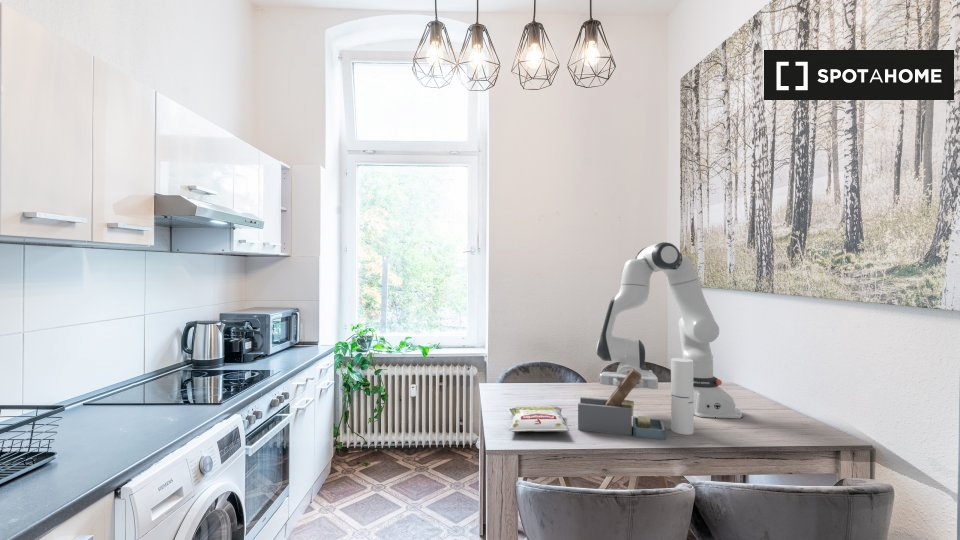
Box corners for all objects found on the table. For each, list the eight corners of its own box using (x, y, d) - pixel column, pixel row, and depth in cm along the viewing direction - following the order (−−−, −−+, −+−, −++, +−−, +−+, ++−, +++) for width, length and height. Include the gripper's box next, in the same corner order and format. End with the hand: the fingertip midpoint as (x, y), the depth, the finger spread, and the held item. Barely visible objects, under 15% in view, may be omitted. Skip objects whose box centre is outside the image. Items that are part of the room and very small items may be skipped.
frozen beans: (562, 400, 173) (570, 421, 148) (562, 415, 173) (571, 438, 148) (508, 401, 175) (508, 422, 150) (509, 416, 175) (509, 439, 150)
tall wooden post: (614, 408, 161) (641, 374, 158) (613, 412, 156) (641, 377, 154) (605, 402, 162) (632, 368, 159) (605, 406, 157) (632, 370, 155)
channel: (631, 425, 162) (631, 401, 162) (631, 435, 152) (631, 408, 152) (580, 420, 167) (580, 396, 167) (578, 429, 158) (578, 404, 158)
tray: (662, 428, 159) (662, 419, 159) (665, 439, 148) (665, 430, 148) (632, 425, 162) (632, 416, 162) (633, 436, 151) (633, 427, 151)
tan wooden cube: (637, 427, 158) (649, 428, 157) (637, 430, 154) (650, 432, 153) (637, 415, 158) (649, 416, 157) (637, 419, 154) (650, 420, 153)
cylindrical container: (668, 427, 160) (667, 357, 160) (688, 427, 160) (687, 357, 160) (676, 434, 153) (675, 361, 153) (697, 434, 153) (696, 361, 153)
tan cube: (632, 412, 158) (633, 401, 158) (633, 415, 155) (633, 404, 155) (621, 410, 160) (621, 399, 160) (620, 413, 156) (621, 402, 156)
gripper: (600, 366, 173) (597, 373, 160) (656, 370, 166) (658, 378, 153) (600, 382, 173) (597, 391, 160) (656, 387, 166) (658, 396, 153)
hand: (628, 384), depth 156 cm, fingers closed on tall wooden post, 5 cm apart
